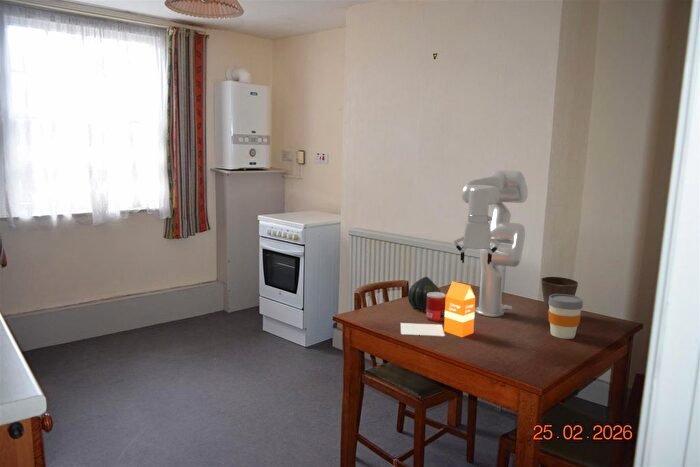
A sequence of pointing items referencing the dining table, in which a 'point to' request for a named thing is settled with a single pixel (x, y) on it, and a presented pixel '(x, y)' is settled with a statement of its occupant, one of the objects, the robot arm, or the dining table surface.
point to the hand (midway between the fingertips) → (475, 262)
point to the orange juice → (459, 310)
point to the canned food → (435, 306)
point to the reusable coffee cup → (564, 315)
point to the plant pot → (557, 288)
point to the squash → (421, 292)
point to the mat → (422, 329)
